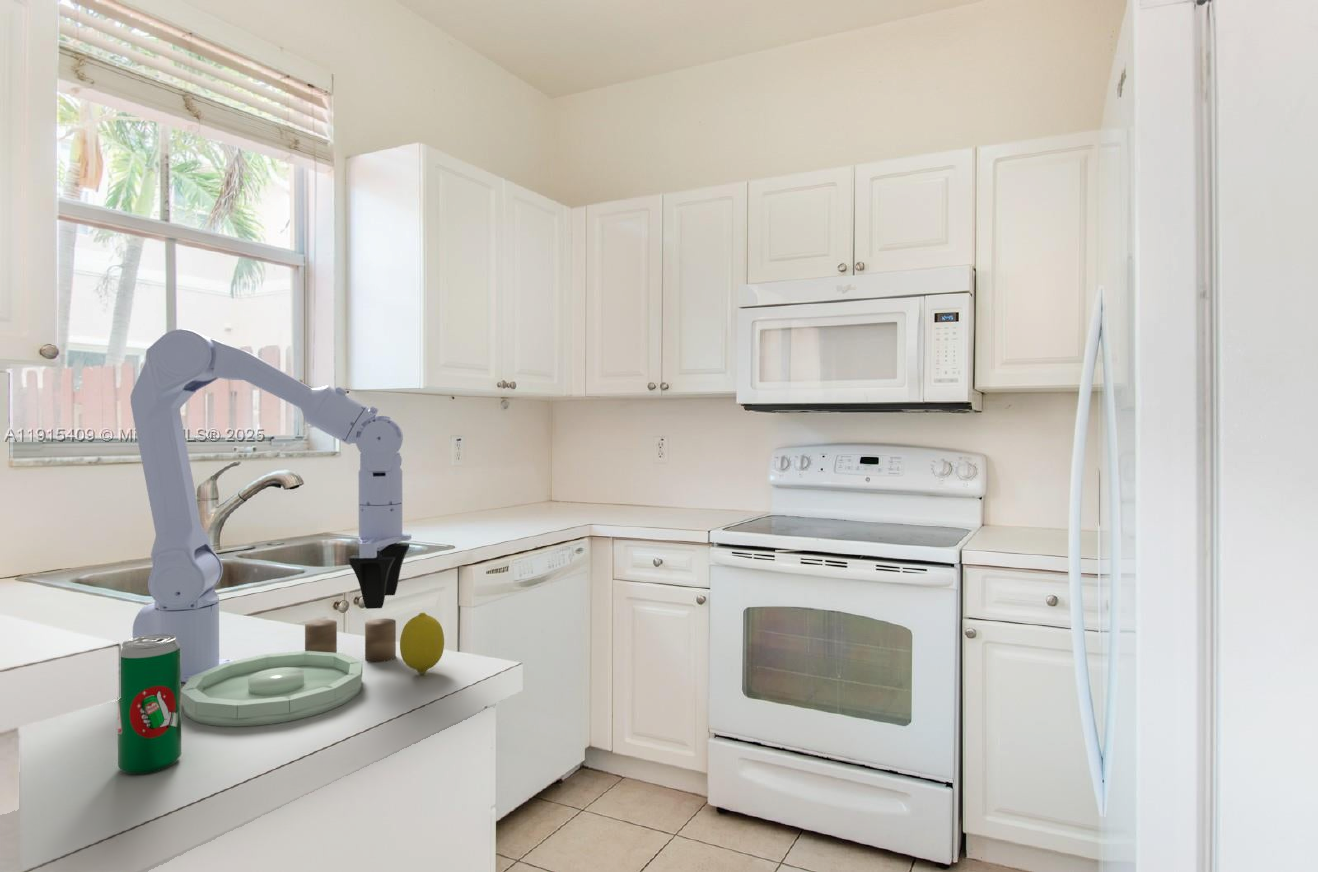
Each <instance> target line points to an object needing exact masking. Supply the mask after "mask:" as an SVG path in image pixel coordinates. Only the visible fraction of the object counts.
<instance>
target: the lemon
mask: <svg viewBox="0 0 1318 872" xmlns="http://www.w3.org/2000/svg"><path fill="white" fill-rule="evenodd" d="M399 640H400V641H399V650H400V655H401V659H402V660H403V663H405V665H406V666H408V667H409V668H410V669H413V670H415V671H416V672H417V673H419V674H420V675H423V674H425V673H426V672H428V670H429V669H430V668H433V667H435V665H437V664H438V662H439V661H440V660H441V658H442V656H443V653H444V651H445V650H444V649H445V635H444V631H443V628H442V625H441V623H440V622H439V621H438V620H437V619H436V618H435V617H433V616H431V615H429V614H426V612H420V613H419V614H418V615H416V616H414V617H412V618H411V619H409V620H408V621H407V622H406V624H405V625H404V626H403V629H402V631H401V634H400V639H399Z"/></svg>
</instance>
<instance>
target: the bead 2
mask: <svg viewBox="0 0 1318 872" xmlns="http://www.w3.org/2000/svg"><path fill="white" fill-rule="evenodd" d="M396 626H397V621H396V619H394V618H375V619H371V620H370V619H369V620H367V621H366V622H365V623H364V628H365V629H364V651H365V652H364V656H365V657H364V660H365V661H366V662H369V663H384V661H385V662H388V661H387V660H390V661H392V660H394V659H396V657H397V653H396V652H397V651H396V650H397V647H396V646H397V639H396V637H397V635H396V633H397V627H396ZM391 659H392V660H391Z"/></svg>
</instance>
